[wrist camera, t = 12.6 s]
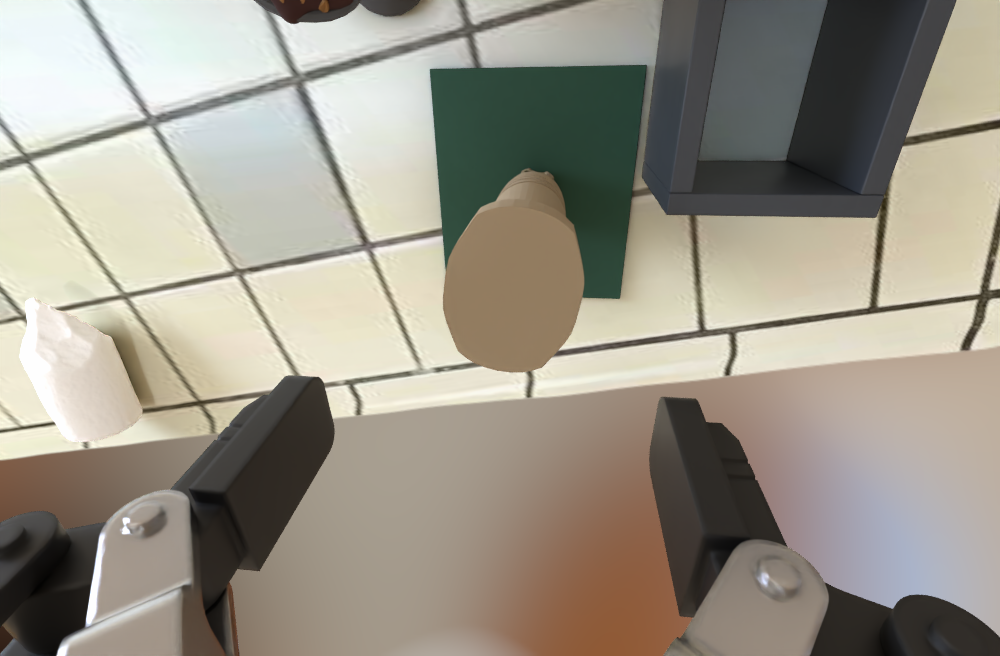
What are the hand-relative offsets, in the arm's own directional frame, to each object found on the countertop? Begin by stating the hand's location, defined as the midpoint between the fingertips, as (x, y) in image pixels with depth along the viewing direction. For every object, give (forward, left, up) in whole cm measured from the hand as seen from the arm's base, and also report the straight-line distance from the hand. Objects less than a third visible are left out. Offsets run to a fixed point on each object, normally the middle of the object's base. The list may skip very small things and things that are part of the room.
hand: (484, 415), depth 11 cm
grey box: (-6, +11, -22) cm, 25 cm away
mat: (0, 0, -22) cm, 22 cm away
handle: (0, 0, -22) cm, 22 cm away
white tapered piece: (+13, -36, -22) cm, 44 cm away
